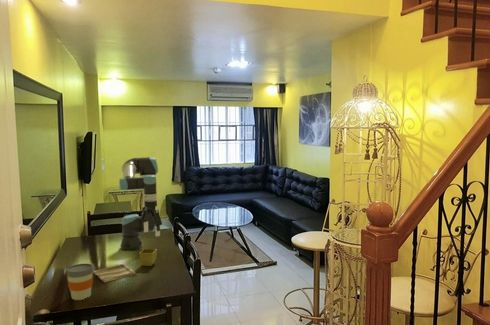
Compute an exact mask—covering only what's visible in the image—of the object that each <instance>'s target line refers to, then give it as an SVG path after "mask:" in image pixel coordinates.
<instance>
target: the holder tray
mask: <svg viewBox="0 0 490 325" xmlns="http://www.w3.org/2000/svg"><path fill="white" fill-rule="evenodd" d="M93 274H94V275H95V276H96V275H97V276H98V277H97V278H99V279H100V280H101V281H102V282H103V283H109V282H112V281H115V280H119V279H125V278H127V277H131V276H134V275H136V271H135V270H133V269H132V268H130V267H128V266H127V265H126V264H125V263H121V264H118V265H113V266H109V267H105V268H99V269H97V270H96V269H95V270H93Z"/></svg>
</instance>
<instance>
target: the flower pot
mask: <svg viewBox="0 0 490 325" xmlns="http://www.w3.org/2000/svg"><path fill="white" fill-rule="evenodd" d="M157 254H158V249H157V248H143V249H142V250H141V251H139V260H140V263H141V265H142V266H144V267H145V266H146V267H152V266H153V265H154V264H155V261H156V260H157Z"/></svg>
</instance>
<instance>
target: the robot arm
mask: <svg viewBox="0 0 490 325" xmlns="http://www.w3.org/2000/svg"><path fill="white" fill-rule="evenodd" d="M121 171H122V173H123V174H122V175H123V176H122V177H121V178H119V180H118V181H119V183H118V184H119V190H120V191H130V190H132V191H133V190H142V200H143V204H142V205H143V212H142V213H141V215H140V216H139V214H137V213H134V214H128V215H124V216H123V217H122V219H121V228H122V230H121V231H122V232H121V234H122V238H121V241H120V245H119V246H120V247H119V249H120V250H122V251H134V250H135V251H136V250H139V249H142V248H143V242H142V240H141V237H140V233H148V232H149V233H150V232H155V234H154V235H155V237H160V236H161V226H162V225H163V222H162V219H161V215H160V210H159V208H156V207H157V206H158V200H157V199H158V197H157V195H158V193H157V192H158V191H157V173H159V168H158V162H157V159H156V158H155V157H151V156H150V157H149V156H148V157H133V158H130V159H128V160H126V161H125V162H124V163H123V164H122V167H121ZM136 174H137V175H139V176H140V177H136Z"/></svg>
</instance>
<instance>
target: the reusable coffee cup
mask: <svg viewBox="0 0 490 325" xmlns="http://www.w3.org/2000/svg"><path fill="white" fill-rule="evenodd" d="M93 274H94V267H93V264H91V263H77V264H73V265H70V266H69V267H67V268H66V277H67V285H68V290H69V292H70V296H71V299H72V300H73V299H74V301H82V300H85V298H86V299H88V298H90V296H91V295H92V294H91V293H92V286H93V284H94V283H93V281H94V276H93ZM87 297H88V298H87Z"/></svg>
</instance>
